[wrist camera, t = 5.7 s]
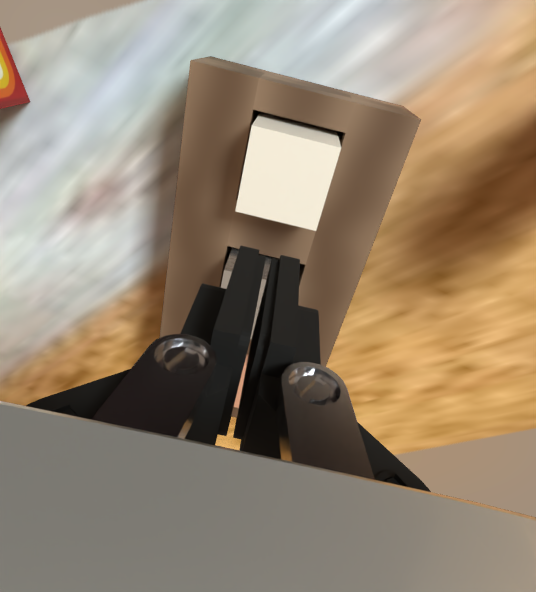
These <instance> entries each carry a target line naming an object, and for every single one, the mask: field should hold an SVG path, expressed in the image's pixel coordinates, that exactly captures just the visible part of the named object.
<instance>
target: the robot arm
mask: <svg viewBox="0 0 536 592" xmlns="http://www.w3.org/2000/svg"><path fill="white" fill-rule="evenodd" d="M265 260H266V257H265V256H261V255H259V250H258V249H254V248H250V247H246V246H240V248H239V252H238V255H237V258H236V261H235V264H234V267H233V270H232V273H231V277H230V280H229V283H228V286H227V289H225V288H221V287H216V286H212V285H208V284H203V283H202V284H201V286H200V289H199V291H198V293H197V296H196V298H195V300H194V303H193V305H192V307H191V310H190V312H189V314H188V317H187V319H186V321H185V324H184V326H183V328H182V331H181V333H180V334H172V335H166V336H163V337H161V338H159V339H156V340H155V341H154V342H153V343H152V344H151V345H150V346H149V347H148V348H147V349H146V351H145V352H144V353H143V354H142V356H141V357H140V358H139V360H138V361H137V362H136V363H135V365H134V366H133V367H132V368H131V369H129V370H126V371H123V372H120V373H117V374H114V375H111V376H108V377H105V378H102V379H99V380H96V381H93V382H90V383H87V384H84V385H81V386H78V387H75V388H72V389H69V390H66V391H63V392H60V393H57V394H54V395H51V396H48V397H45V398H42V399H39V400H37V401H35V402H33V403H30V404H28V405H27V406H23V405H18V404H13V403H8V402H3V401H0V592H536V517H532V516H528V515H524V514H520V513H516V512H512V511H508V510H504V509H500V508H497V507H493V506H489V505H485V504H481V503H477V502H473V501H468V500H463V499H459V498H454V497H450V496H445V495H441V494H437V493H432V492H431V491H430V490H429V489H428V488H427V487H426V486H425V484H424V483H423V482H422V481H421V480H420V479H419V478H418V477H417V476H416V475H415V474H413V473H412V472H411V471H410V470H409V469H408V468H407V467H406V466H405V465H404V464H403V463H401V462H400V461H399V460H398V459H397V458H396V457H395V456H394V455H393V454H392V453H391V452H390V451H388V450H387V449H386V448H385V447H384V446H383V445H382V444H381V443H380V442H379V441H378V440H376V439H375V438H374V437H373V436H372V435H371V434H370V433H369V432H368V431H367V430H366V429H364V428H363V427H362V426H361V425H360V424H359V423H358V422H357V420H356V416H355V413H354V410H353V407H352V403H351V400H350V397H349V394H348V390H347V388H346V386H345V384H344V382H343V380H342V379H341V378H340V377H339V376H338V375H337V374H336V373H335V372H333V371H332V370H330V369H329V368H327V367H324V366H322V365H321V359H320V334H319V312H318V310H316V309H312V308H308V307H303V306H299V305H298V302H299V274H300V259H297V258H292V257H288V256H284V255H280V258H279V260H278V259H274V258H272V260H271V264H270V268H269V272H268V276H267V280H266V284H265V288H264V292H263V296H262V299H261V303H260V307H259V311H258V315H257V319H256V323H255V327H254V331H253V335H252V340H251V344H250V349H249V355H248V360H247V365H246V371H245V376H244V382H243V387H242V392H241V398H240V403H239V409H238V414H237V419H236V425H235V430H234V436H233V438H238V439H241V444H240V451H239V450H234V449H230V448H225V447H220V446H215V443H216V438H217V434H219V435H224V436H226V435H227V431H228V427H229V423H230V419H231V415H232V411H233V407H234V403H235V399H236V395H237V391H238V387H239V383H240V379H241V375H242V371H243V367H244V363H245V359H246V355H247V351H248V347H249V343H250V338H251V333H252V328H253V323H254V318H255V312H256V307H257V302H258V297H259V291H260V286H261V281H262V275H263V270H264V265H265Z"/></svg>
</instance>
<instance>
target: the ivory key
mask: <svg viewBox="0 0 536 592" xmlns="http://www.w3.org/2000/svg"><path fill="white" fill-rule="evenodd" d="M340 151H341V145H340V141H339V137H338V134H337V132H335V131H331V130H327V129H323V128H319V127H315V126H311V125H307V124H303V123H299V122H296V121H292V120H288V119H284V118H280V117H276V116H272V115H268V114H264V113H260V114H259V115H258V117H257V118H256V120H255V121H254V123H253V124H252V127H251V132H250V137H249V142H248V148H247V153H246V158H245V163H244V169H243V174H242V179H241V184H240V189H239V195H238V200H237V205H236V210H235V211H236V212H240V213H244V214H248V215H252V216H256V217H261V218H265V219H269V220H273V221H277V222H281V223H285V224H289V225H293V226H297V227H302V228H306V229H310V230H314V231H316V230H317V226H318V223H319V220H320V216H321V213H322V210H323V207H324V203H325V200H326V197H327V193H328V190H329V187H330V184H331V180H332V177H333V174H334V170H335V167H336V164H337V161H338V157H339V154H340Z"/></svg>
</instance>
